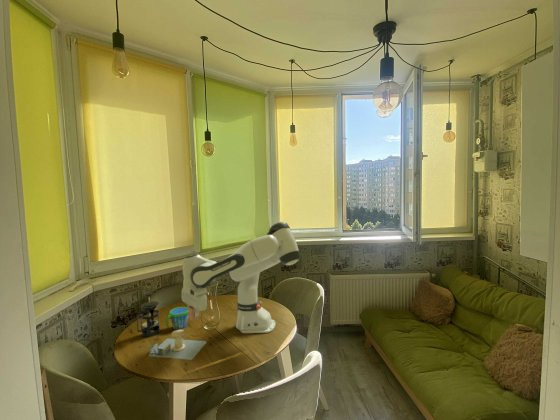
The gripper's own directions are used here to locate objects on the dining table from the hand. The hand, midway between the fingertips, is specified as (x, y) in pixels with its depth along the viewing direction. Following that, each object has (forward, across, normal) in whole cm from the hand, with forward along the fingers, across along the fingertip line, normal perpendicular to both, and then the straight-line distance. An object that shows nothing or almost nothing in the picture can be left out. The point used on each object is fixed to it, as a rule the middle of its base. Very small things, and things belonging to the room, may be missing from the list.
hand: (194, 314), depth 141 cm
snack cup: (+16, -24, +3) cm, 29 cm away
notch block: (+15, -4, -16) cm, 22 cm away
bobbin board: (+16, -1, -8) cm, 18 cm away
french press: (+16, -28, -12) cm, 34 cm away
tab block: (+2, 0, 0) cm, 2 cm away
